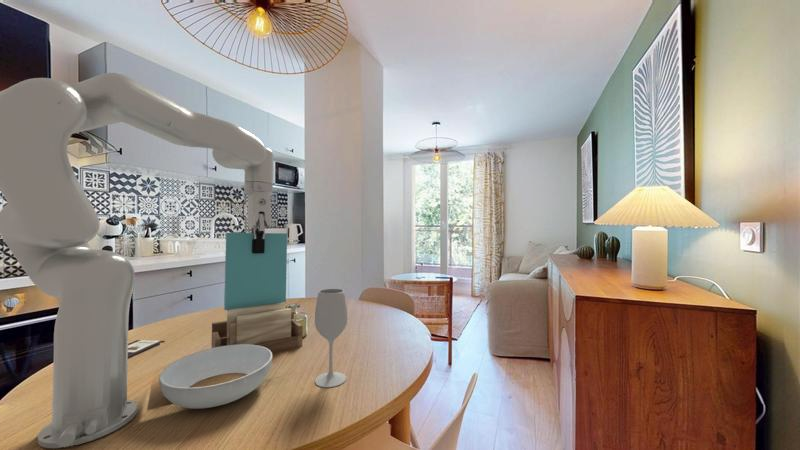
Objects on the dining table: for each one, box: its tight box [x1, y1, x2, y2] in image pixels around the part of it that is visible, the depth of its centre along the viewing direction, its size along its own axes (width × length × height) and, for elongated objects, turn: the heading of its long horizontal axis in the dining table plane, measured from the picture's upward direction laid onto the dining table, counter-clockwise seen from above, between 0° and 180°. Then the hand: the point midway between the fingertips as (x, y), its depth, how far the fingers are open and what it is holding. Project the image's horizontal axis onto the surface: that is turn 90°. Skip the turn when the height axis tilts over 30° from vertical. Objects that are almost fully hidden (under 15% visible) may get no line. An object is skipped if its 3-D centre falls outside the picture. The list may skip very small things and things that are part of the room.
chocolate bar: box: [128, 339, 166, 360], centre depth 87 cm, size 9×1×18 cm
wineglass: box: [314, 288, 348, 389], centre depth 73 cm, size 8×8×21 cm
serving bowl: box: [158, 344, 273, 410], centre depth 66 cm, size 21×21×7 cm
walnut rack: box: [211, 310, 303, 354], centre depth 87 cm, size 10×22×10 cm, turn 126°
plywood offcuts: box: [226, 302, 292, 345], centre depth 85 cm, size 3×16×12 cm, turn 126°
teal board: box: [223, 232, 288, 311], centre depth 89 cm, size 2×16×21 cm, turn 126°
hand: (257, 252), depth 89 cm, fingers closed on teal board, 2 cm apart
